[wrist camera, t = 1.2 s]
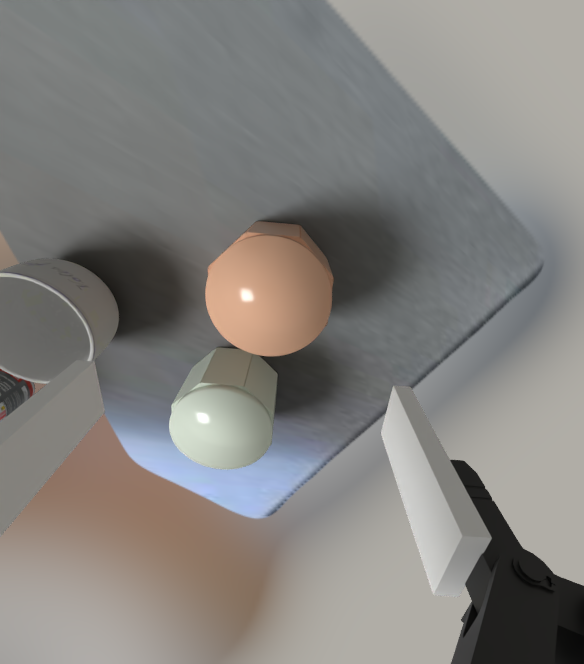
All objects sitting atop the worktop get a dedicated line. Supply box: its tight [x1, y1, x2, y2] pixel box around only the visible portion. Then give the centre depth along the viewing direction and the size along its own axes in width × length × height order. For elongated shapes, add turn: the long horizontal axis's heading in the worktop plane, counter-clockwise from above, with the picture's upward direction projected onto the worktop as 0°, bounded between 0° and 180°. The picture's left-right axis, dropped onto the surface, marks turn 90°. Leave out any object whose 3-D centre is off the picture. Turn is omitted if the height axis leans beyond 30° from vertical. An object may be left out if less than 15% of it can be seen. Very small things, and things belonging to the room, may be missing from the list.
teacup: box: [0, 258, 119, 384], centre depth 31 cm, size 14×11×8 cm
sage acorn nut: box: [169, 347, 278, 469], centre depth 35 cm, size 10×10×8 cm
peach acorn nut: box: [205, 221, 334, 356], centre depth 29 cm, size 10×10×8 cm
